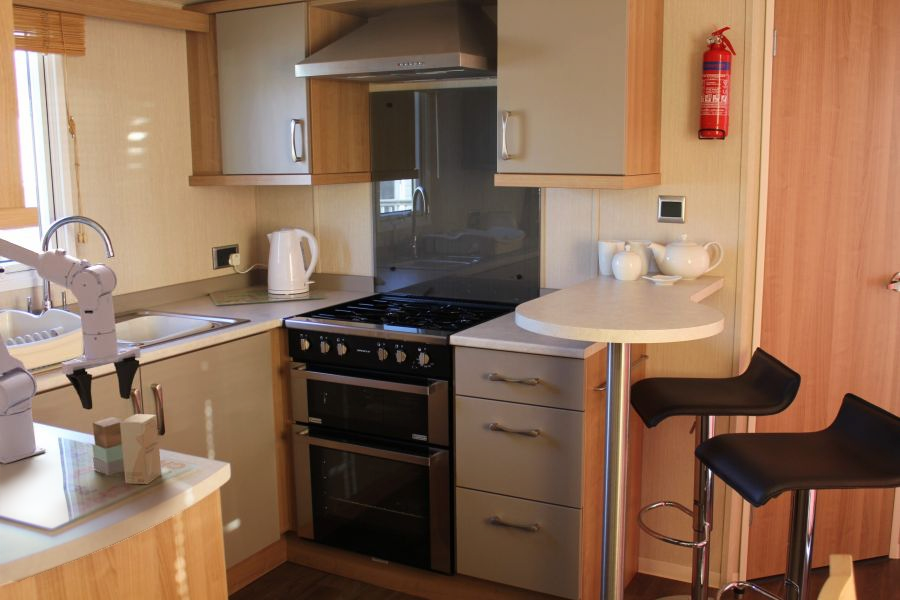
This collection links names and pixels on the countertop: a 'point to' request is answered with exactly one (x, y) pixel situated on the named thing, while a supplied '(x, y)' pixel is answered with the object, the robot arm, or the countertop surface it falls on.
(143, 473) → the box
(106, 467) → the slab lower
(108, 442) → the walnut cube
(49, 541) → the countertop surface
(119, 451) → the slab upper
